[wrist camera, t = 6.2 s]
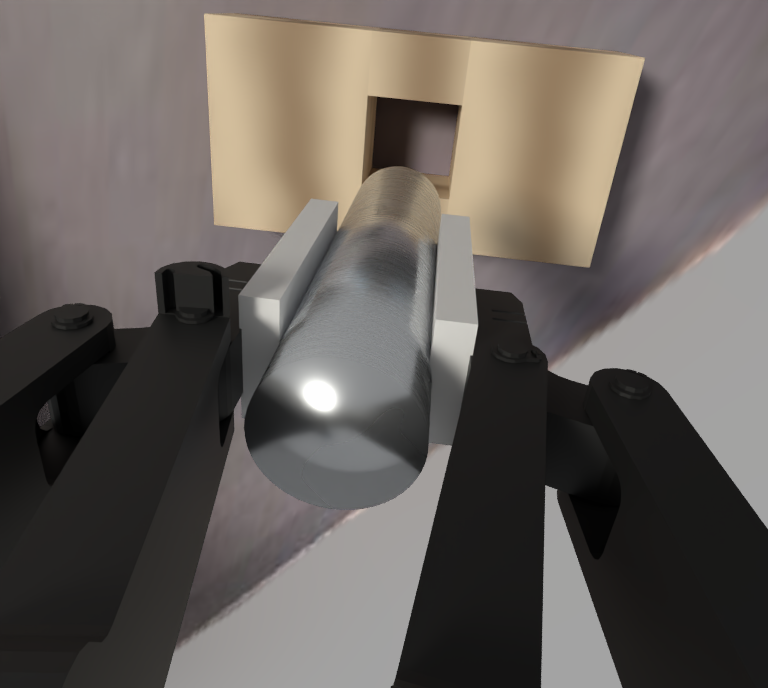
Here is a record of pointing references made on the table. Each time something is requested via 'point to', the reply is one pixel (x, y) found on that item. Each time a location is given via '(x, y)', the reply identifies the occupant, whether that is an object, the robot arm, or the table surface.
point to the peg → (356, 356)
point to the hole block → (421, 83)
